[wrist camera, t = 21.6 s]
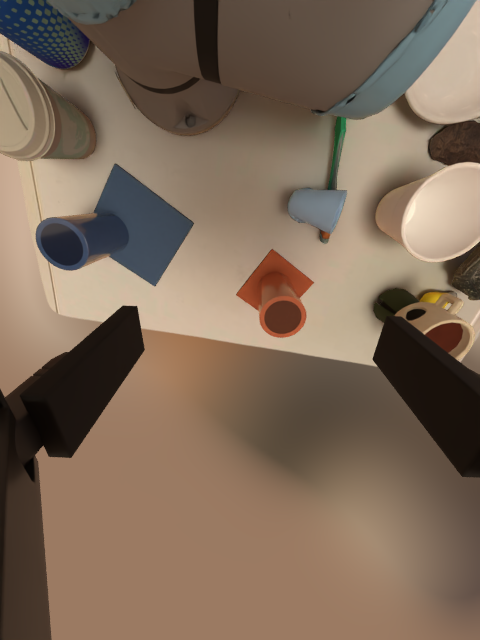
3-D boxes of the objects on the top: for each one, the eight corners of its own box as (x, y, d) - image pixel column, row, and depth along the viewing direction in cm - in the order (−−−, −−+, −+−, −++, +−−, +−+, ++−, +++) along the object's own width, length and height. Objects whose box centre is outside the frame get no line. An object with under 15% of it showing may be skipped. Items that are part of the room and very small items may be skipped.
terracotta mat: (272, 248, 39) (272, 249, 39) (313, 282, 42) (313, 282, 41) (236, 294, 43) (236, 295, 43) (276, 322, 45) (276, 323, 45)
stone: (435, 118, 32) (417, 163, 34) (446, 113, 30) (426, 162, 32) (524, 125, 31) (500, 171, 34) (542, 121, 29) (514, 171, 32)
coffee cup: (104, 179, 36) (42, 171, 25) (42, 157, 35) (-50, 139, 24) (109, 107, 32) (39, 62, 21) (40, 80, 31) (-70, 19, 20)
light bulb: (424, 293, 39) (436, 313, 39) (458, 280, 40) (470, 300, 39) (410, 299, 43) (421, 318, 42) (441, 288, 43) (452, 306, 42)
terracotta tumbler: (272, 264, 40) (280, 286, 30) (300, 286, 42) (316, 314, 32) (249, 292, 42) (250, 321, 32) (276, 312, 44) (284, 345, 34)
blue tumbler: (99, 203, 37) (44, 205, 27) (135, 229, 38) (96, 239, 28) (84, 237, 39) (28, 250, 29) (119, 260, 41) (77, 280, 31)
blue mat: (115, 163, 35) (114, 163, 34) (194, 223, 38) (193, 223, 38) (83, 238, 40) (82, 238, 39) (155, 285, 43) (154, 286, 42)
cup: (347, 211, 37) (383, 217, 27) (409, 154, 33) (477, 136, 23) (384, 259, 40) (429, 279, 30) (444, 210, 36) (518, 215, 26)
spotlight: (334, 193, 36) (288, 181, 35) (363, 192, 27) (302, 176, 26) (321, 229, 38) (278, 218, 37) (344, 239, 29) (287, 224, 28)
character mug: (391, 267, 40) (450, 296, 28) (429, 282, 41) (501, 316, 29) (355, 324, 45) (393, 369, 33) (390, 336, 45) (439, 384, 34)
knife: (328, 240, 39) (338, 246, 34) (315, 241, 39) (323, 246, 34) (348, 68, 30) (365, 45, 25) (331, 69, 30) (346, 46, 25)
